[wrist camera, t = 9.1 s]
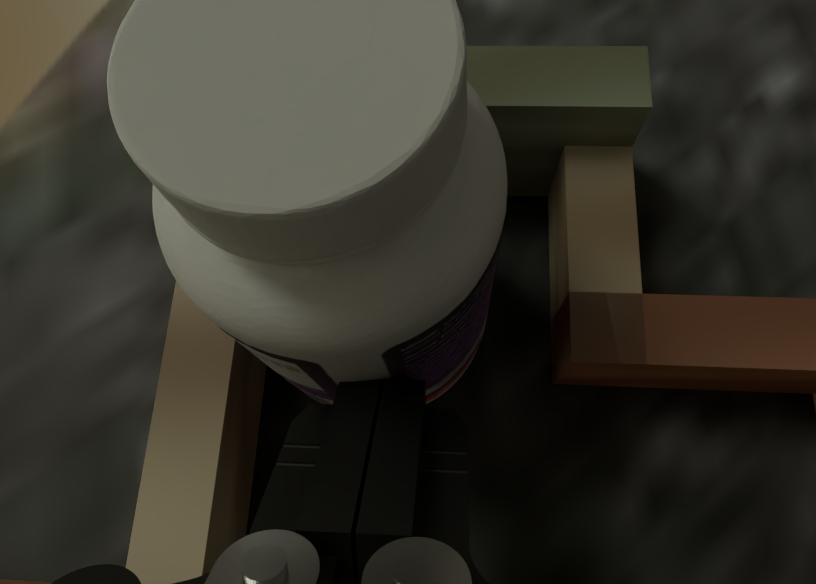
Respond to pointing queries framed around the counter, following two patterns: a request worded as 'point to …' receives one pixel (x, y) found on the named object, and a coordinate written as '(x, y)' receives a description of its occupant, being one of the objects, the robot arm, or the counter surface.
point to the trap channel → (569, 305)
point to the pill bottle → (319, 179)
